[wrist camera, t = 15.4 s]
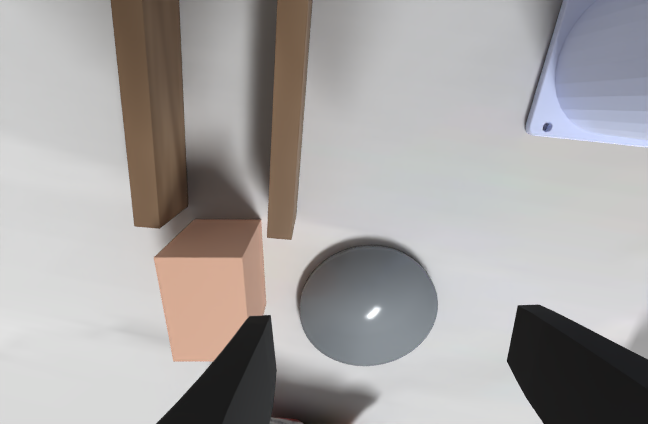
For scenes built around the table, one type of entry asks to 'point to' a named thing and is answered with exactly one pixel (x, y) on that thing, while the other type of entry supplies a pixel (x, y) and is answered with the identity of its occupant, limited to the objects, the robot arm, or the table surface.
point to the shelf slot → (168, 109)
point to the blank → (211, 284)
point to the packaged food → (284, 421)
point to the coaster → (368, 305)
